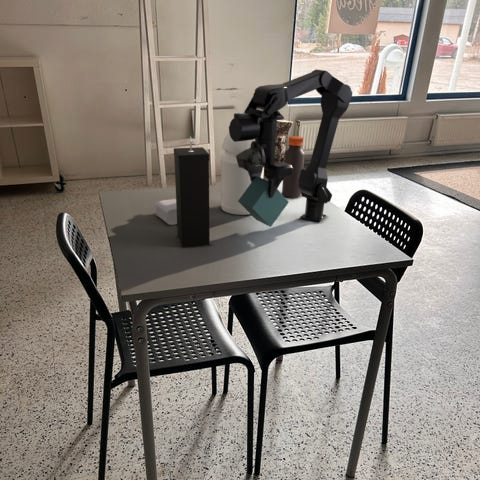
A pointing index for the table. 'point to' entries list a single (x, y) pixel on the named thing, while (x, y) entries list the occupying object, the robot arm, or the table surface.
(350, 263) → the table surface
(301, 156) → the bottle
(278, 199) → the teal box
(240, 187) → the bottle
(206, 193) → the tall black block
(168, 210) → the charger
